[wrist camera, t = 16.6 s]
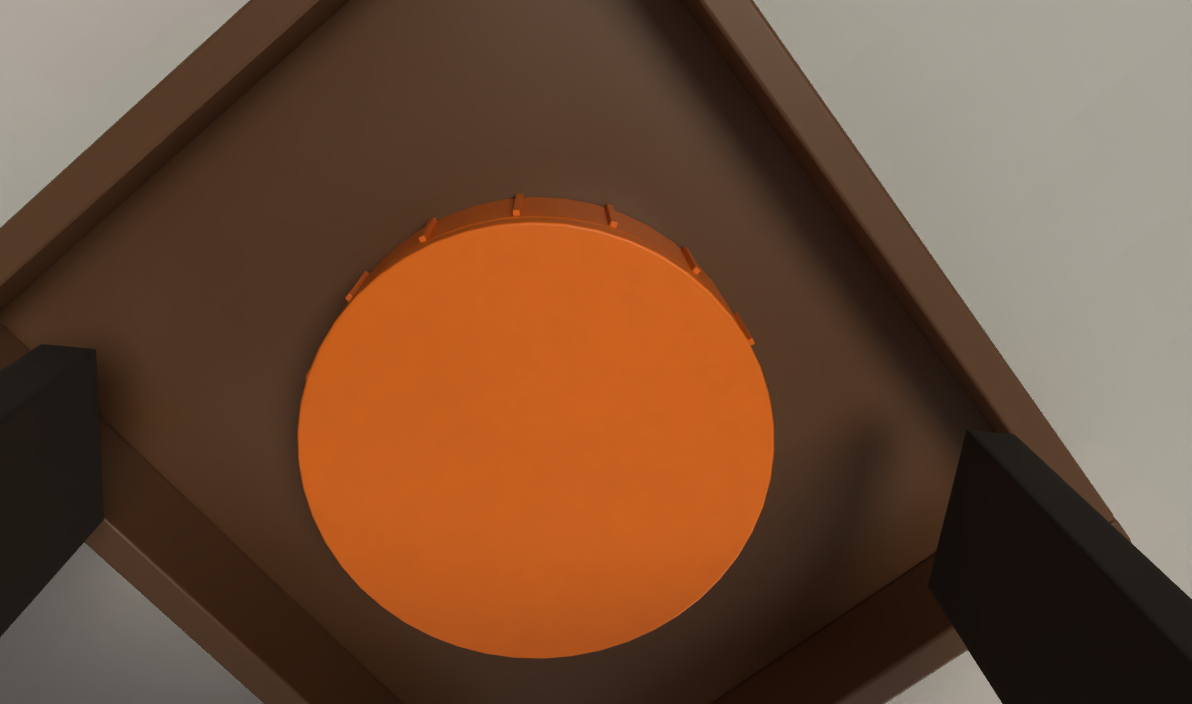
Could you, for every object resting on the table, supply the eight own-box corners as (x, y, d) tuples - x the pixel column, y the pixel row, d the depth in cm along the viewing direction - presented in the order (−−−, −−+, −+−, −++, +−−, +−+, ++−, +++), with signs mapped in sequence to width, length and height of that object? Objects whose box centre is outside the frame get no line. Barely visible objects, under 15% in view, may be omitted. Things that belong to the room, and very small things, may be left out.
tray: (-40, 302, 17) (-135, 349, 15) (556, -236, 15) (556, -282, 13) (527, 836, 22) (524, 939, 19) (1064, 477, 19) (1134, 544, 17)
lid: (833, 437, 18) (866, 490, 16) (510, 661, 20) (505, 736, 18) (575, 100, 16) (578, 113, 14) (233, 375, 17) (192, 422, 16)
